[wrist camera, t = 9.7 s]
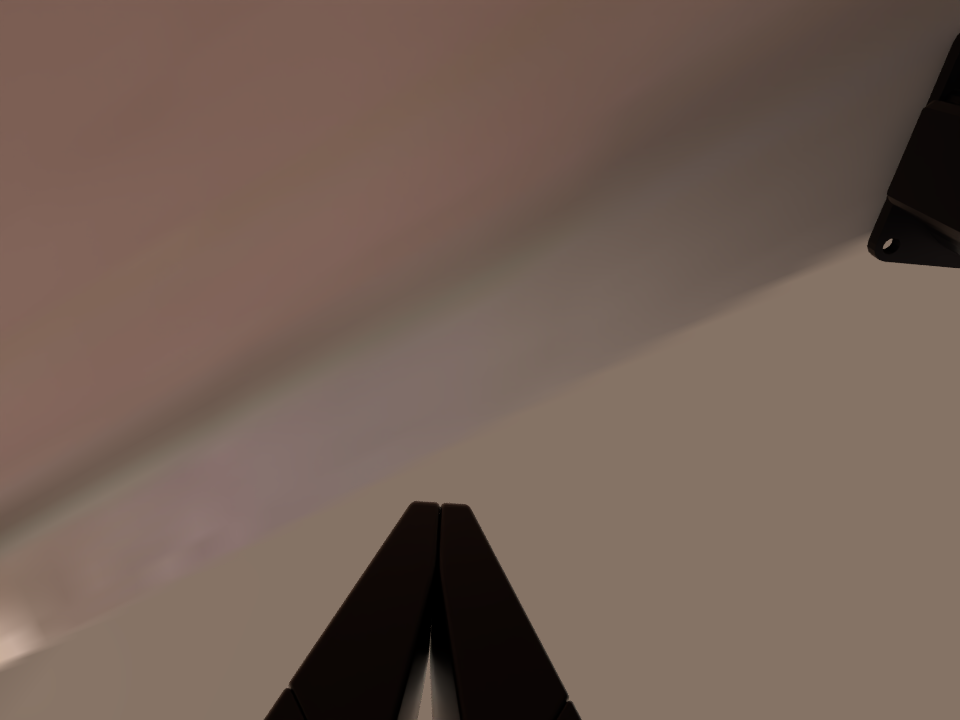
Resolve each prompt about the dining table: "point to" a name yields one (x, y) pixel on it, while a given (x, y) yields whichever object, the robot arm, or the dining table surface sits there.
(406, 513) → the robot arm
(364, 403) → the dining table surface
